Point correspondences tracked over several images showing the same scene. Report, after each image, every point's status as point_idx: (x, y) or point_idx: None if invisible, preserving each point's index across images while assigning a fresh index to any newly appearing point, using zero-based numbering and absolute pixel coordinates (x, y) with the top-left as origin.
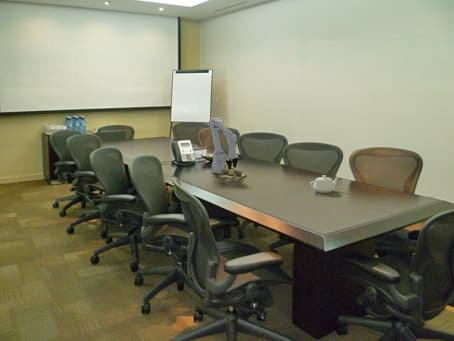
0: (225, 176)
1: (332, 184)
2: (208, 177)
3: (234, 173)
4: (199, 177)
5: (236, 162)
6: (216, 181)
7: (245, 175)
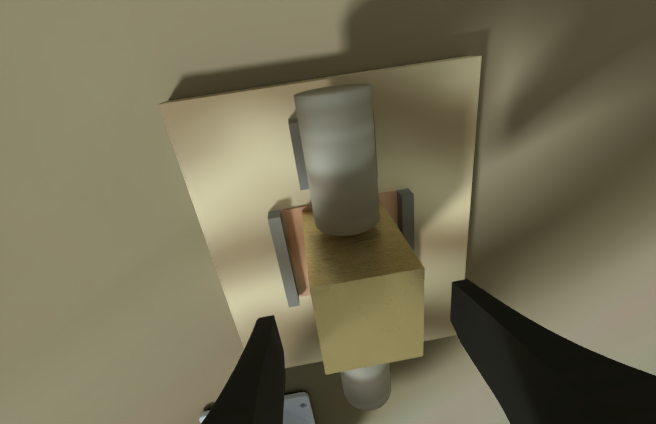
0: (464, 256)
1: None
2: None
3: None
4: None
5: (255, 413)
6: (650, 210)
7: (195, 97)
